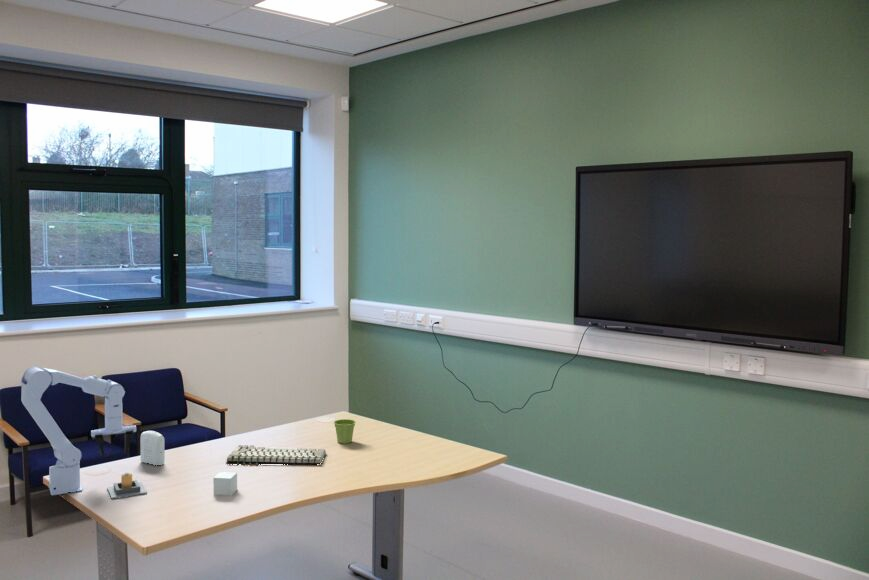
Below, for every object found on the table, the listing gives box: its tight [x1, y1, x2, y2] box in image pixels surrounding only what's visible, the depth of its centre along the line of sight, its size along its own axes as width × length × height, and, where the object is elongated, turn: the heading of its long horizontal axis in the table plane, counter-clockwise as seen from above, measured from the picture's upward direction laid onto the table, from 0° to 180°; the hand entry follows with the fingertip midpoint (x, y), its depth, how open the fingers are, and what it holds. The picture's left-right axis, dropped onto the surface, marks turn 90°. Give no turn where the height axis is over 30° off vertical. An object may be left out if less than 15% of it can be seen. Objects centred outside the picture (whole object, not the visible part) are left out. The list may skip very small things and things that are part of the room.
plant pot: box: [333, 418, 357, 445], centre depth 309 cm, size 9×9×9 cm
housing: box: [106, 479, 148, 500], centre depth 247 cm, size 11×11×2 cm
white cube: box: [212, 471, 238, 496], centre depth 248 cm, size 6×6×6 cm
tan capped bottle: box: [120, 472, 133, 488], centre depth 247 cm, size 3×3×6 cm
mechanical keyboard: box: [225, 444, 327, 467], centre depth 286 cm, size 38×19×3 cm, turn 91°
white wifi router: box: [139, 430, 166, 467], centre depth 276 cm, size 10×4×12 cm, turn 60°
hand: (114, 453), depth 257 cm, fingers open, 7 cm apart
